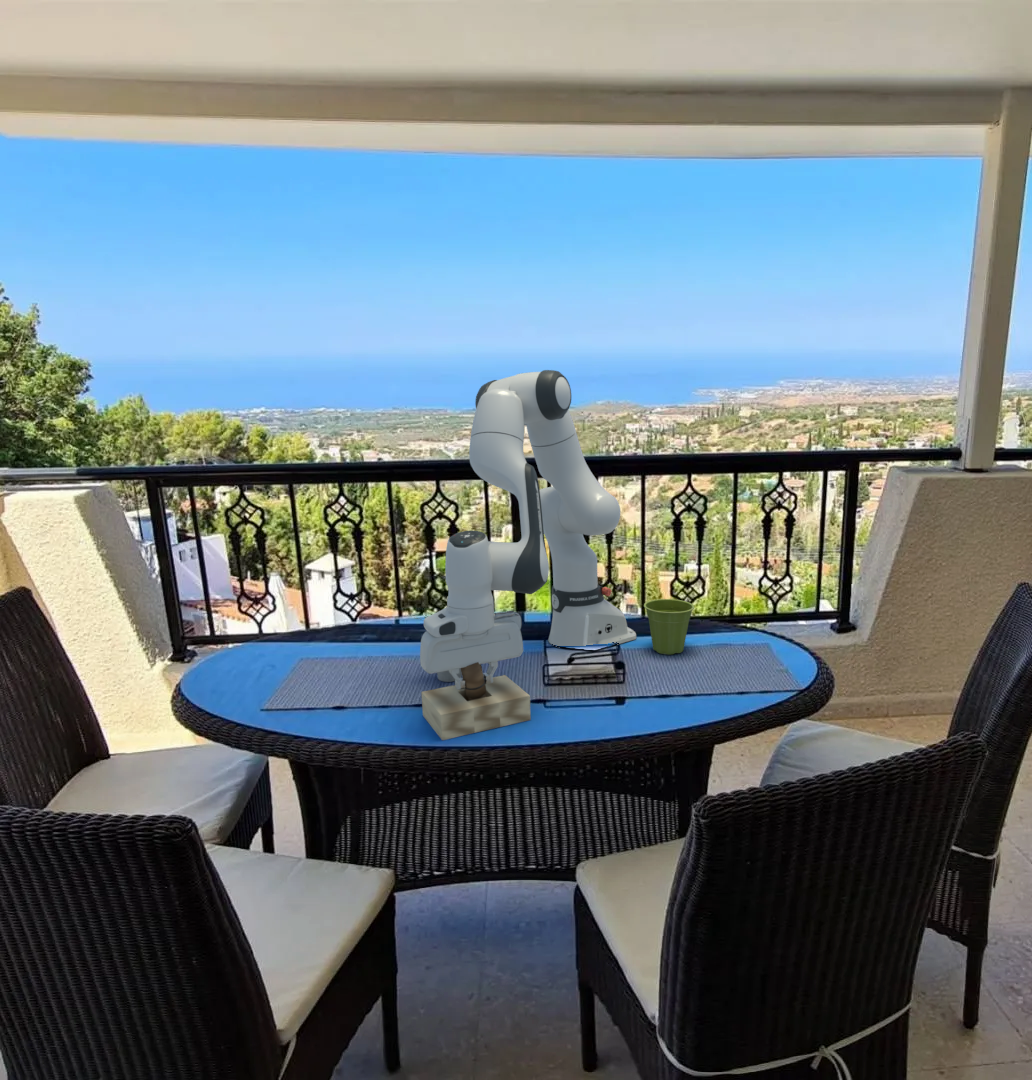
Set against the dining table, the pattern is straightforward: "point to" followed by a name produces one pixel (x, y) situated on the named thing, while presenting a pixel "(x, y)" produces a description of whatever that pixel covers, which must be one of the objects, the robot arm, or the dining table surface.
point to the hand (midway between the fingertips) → (474, 685)
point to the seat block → (475, 708)
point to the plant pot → (668, 624)
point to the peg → (474, 681)
